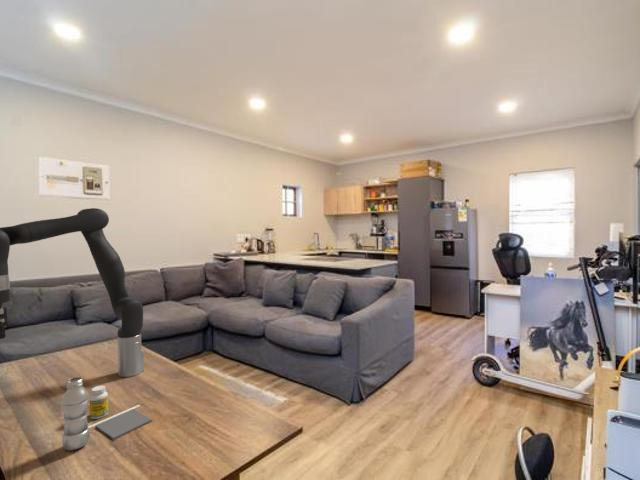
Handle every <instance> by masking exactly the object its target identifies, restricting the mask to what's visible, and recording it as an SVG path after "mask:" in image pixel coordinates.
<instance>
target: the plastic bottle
mask: <svg viewBox="0 0 640 480" xmlns="http://www.w3.org/2000/svg"><path fill="white" fill-rule="evenodd" d="M83 385H84V382H83V377H81V376H75V377H72V378H69V379H67V380H66V389H67V390H66V391H65V393H64V394H63V396H62V398H61V407H62V411H63V418H64V419H63V420H64V423H63V434H62V439H61V444H62V448H63V449H64V450H66V451H75V450H78V449H80V448H81V449H82V448H83V447H85V446H86V445H87V443H88V442H89V440H90V436H91V435H90V434H91V433H90V429H89V428H88V426H89V425H88V417H87V416H88V403H89V398H90V394H89V391H88V390H87V389H86V388H85V387H84V386H83Z"/></svg>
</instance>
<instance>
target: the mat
mask: <svg viewBox="0 0 640 480" xmlns="http://www.w3.org/2000/svg"><path fill="white" fill-rule="evenodd" d="M151 422H153V419H152V418H150V417H148V415H147V416H146V415H144V414H143V413H141V412H140V411H138V410H136V409H133V410H130V411H128V412H126V413H124V414H121V415H119V416H117V417H114V418H112V419H110V420H107V421H105V422H103V423H100V424H98V425H96V426H95V429H98V430H99V431H100V432H102V433H103V434H105V435H106V436H108V438H110V439H112V440H113V441H114V440H116V439H118V438H121V437H122V436H125V435H127V434H128V433H129V434H130V432H131V433H132V432H133V431H135V430H137V429H139V428H141V427H143V426H145V425H148V424H150V423H151Z"/></svg>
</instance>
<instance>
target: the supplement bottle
mask: <svg viewBox="0 0 640 480" xmlns="http://www.w3.org/2000/svg"><path fill="white" fill-rule="evenodd" d="M88 402H89V418H90V419H91V420H99V419H102V418H104V417H106V416H107V415H109V394H108V392H107V390H106V386H105V385H97V386H95V387H94V386H93V388H92V389H91V395H89V398H88Z"/></svg>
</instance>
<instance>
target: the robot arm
mask: <svg viewBox="0 0 640 480" xmlns="http://www.w3.org/2000/svg"><path fill="white" fill-rule="evenodd" d="M109 221H110V218H109V215H108V213H107V212H106V211H104V210H103V209H101V208H98V207H97V208H93V207H92V208H85V209H81V210H79V211H78V212H77V214H73V215H69V216H64V217H59V218H58V217H57V218H50V219H49V218H48V219H42V220H41V219H40V220H35V221H29V222H24V223H19V224H16V225H12V226H11V225H10V226H4V227H3V226H1V227H0V340H2V339H5V338H6V327H7V326H8V324H9V323H8V312H7V311H8V310H7V307H4V305H3V304H5V303H8V302H10V301H11V281H10V275H9V263H8V261H9V254H10V248H11V246H14V245H21V244H22V245H23V244H28V243H34V242H38V241H42V240H46V239H47V240H48V239H51V238H54V237H59V236H63V235H67V234H72V233H78V232H80V233H81V234H82V236H83V237H84V240H85V241H86V243H87V245H88V246H87V247H88V248H89V251H90V253H91V256H92V259H93V261H94V264H95V266H96V269H97V271H98V274H99V277H100V278H101V280H102V282H103V285H104V287H105V289H106V292H107V294H108V296H109V300H110V304H111V307H112V310H113V313H114V315H115V316H116V318H118V319H120V320H121V327H120V328H119V329H117V360H118V363H117V364H118V366H117V367H118V370H117V371H118V372H117V373H118V377H120V378H128V377H134V376H137V375H139V374H141V373H142V372H144V371H145V357H144V355H145V353H144V349H142V329H143V327H144V307H143V305H142V302H141V301H139V300H137V299H132V298H131V296H130V295H129V292H128V290H127V288H126V284H125V283H126V281H125V280H126V271H125V268H124V264H123V262H122V260H121V257H120V256H119V253H118V252H117V251H116V250H115V248H114V247H113V246H112V245H111V244H110V242H109V241H108V240H107V238H106V236H105V233H104V230H103V229H105V228H106V227H108V224H109Z"/></svg>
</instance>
